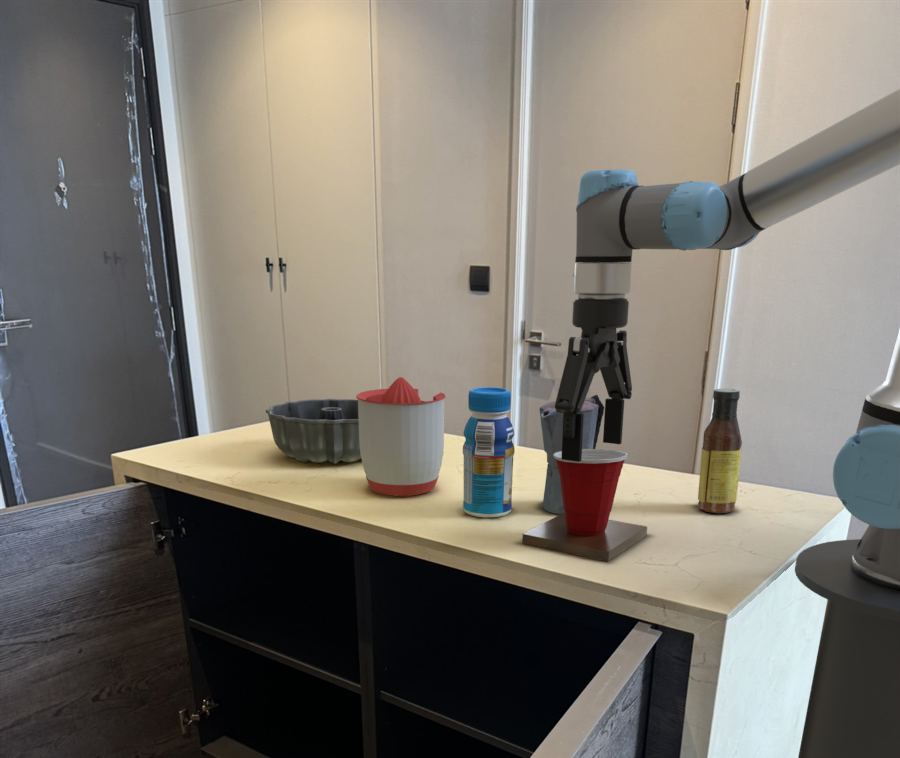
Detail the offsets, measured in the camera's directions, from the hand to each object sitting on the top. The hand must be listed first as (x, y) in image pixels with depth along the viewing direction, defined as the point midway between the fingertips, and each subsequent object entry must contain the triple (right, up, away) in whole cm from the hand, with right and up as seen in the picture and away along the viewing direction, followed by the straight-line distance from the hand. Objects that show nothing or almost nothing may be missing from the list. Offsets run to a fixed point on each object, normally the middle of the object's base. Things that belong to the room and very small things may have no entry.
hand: (592, 451), depth 125 cm
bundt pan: (-45, +9, +56) cm, 72 cm away
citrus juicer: (-29, -1, +32) cm, 43 cm away
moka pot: (-1, -6, +21) cm, 22 cm away
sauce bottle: (+24, -6, +20) cm, 32 cm away
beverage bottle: (-15, -7, +19) cm, 25 cm away
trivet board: (0, -12, +5) cm, 14 cm away
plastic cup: (0, -11, +5) cm, 12 cm away
